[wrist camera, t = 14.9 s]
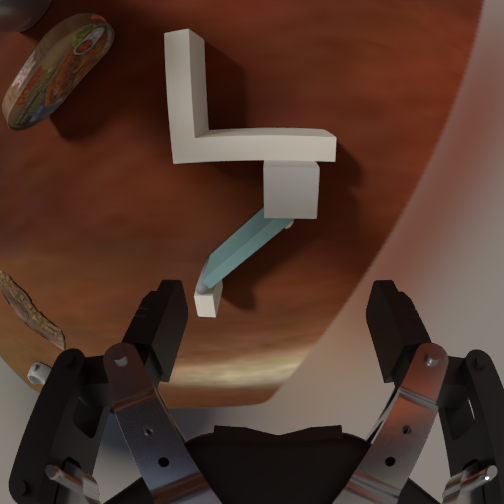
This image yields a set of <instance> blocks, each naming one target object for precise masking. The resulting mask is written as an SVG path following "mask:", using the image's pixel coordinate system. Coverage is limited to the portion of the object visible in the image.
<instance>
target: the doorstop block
mask: <svg viewBox="0 0 504 504" xmlns="http://www.w3.org/2000/svg"><path fill="white" fill-rule="evenodd" d="M319 171H320V168H319V166H318V165H317V163H316V161H298V160H264V166H263V172H264V218H297V219H317V205H318V190H319Z"/></svg>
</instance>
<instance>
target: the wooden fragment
mask: <svg viewBox="0 0 504 504" xmlns="http://www.w3.org/2000/svg"><path fill="white" fill-rule="evenodd" d="M0 290H1V292H2V293H3V295H4V297H5V298H6V300H7V301H8V303H9V304H10V306H11V307H12V308H13V310H14V311H15V312H16V313H17V314H18V317H19V318H20V319H21V320H22V321H23V322H24V323H25V324H26V325H27V326H28V327H30V328H31V329H33V330H34V331H36V332H37V333H38V334H40V335H41V336H43V337H44V338H46V339H47V340H49V341H51V342H52V343H54V344H55V345H57V346H58V347H59V348H61V349H62V350H65V344H66V343H65V341H64V335H62V330H61V329H59V328H57V327H56V326H54V325H53V324H52V323H51V322H50V321H48V320H47V319H46V318H45V316H43V315H42V313H41V312H39V311H38V310H37V309H36V308H35V306H33V305H32V303H31V300H30V299H29V298H28V296H27V295H26V294H25V293H24V291H22V290H21V289H20V288H19V287H18V286H17V285H16V284H15V283H14V282H13V281H12V279H11V277H10V276H9V275H8V274H6V273H4V272H3V271H1V270H0Z"/></svg>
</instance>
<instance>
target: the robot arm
mask: <svg viewBox="0 0 504 504" xmlns="http://www.w3.org/2000/svg"><path fill="white" fill-rule="evenodd" d="M51 2H52V0H0V32H23V31H26V30H28V29H30V28H31V27H32V26H34V25H35V24H36V23H37V22H38V21H39V20H40V19H41V18H42V16H43V15H44V14H45V12H46V11H47V9H48V8H49V6H50V4H51ZM138 308H139V309H137V311H136V313H135V317H133V319H132V321H131V323H130V325H129V328H128V330H127V332H126V334H125V336H124V338H123V340H122V342H121V343H118V344H115V345H113V346H111V347H110V348H109V349H108V350H107V351H106V352H105V354H104V355H102V356H94V357H85V356H84V354H83V353H82V352H81V351H80V350H78V349H74V348H73V349H68V350H65V351H63V352H62V353H61V354H60V355H59V356H58V357H57V359H56V361H55V363H54V365H53V367H52V369H51V371H50V373H49V375H48V377H47V379H46V382H45V384H44V386H43V388H42V390H41V393H40V395H39V397H38V399H37V402H36V404H35V406H34V409H33V412H32V414H31V416H30V419H29V421H28V424H27V426H26V429H25V432H24V435H23V438H22V440H21V443H20V446H19V449H18V452H17V455H16V458H15V462H14V465H13V468H12V471H11V475H10V479H9V491H10V494H11V496H12V498H13V499H14V500H15V502H17V503H18V504H101V503H100V500H99V495H100V493H99V489H98V484H97V482H96V480H95V479H94V478H93V477H92V474H93V469H94V466H95V461H96V457H97V454H98V449H99V446H100V442H101V438H102V435H103V431H104V428H105V424H106V421H107V417H108V414H109V411H110V407H111V406H114V411H115V414H116V417H117V419H118V422H119V425H120V427H121V430H122V432H123V435H124V437H125V440H126V442H127V445H128V447H129V449H130V451H131V454H132V456H133V458H134V460H135V463H136V465H137V467H138V469H139V471H140V473H141V475H142V477H140V478H139V479H138V480H136V481H135V482H134V483H132V484H131V485H130V486H128V487H127V488H125V489H124V490H122V491H121V492H120V493H118V494H117V495H115V496H114V497H112V498H111V499H109V500H108V501H106V502H105V503H103V504H440V503H439V502H438V501H437V500H435V499H434V498H433V497H432V496H431V495H429V494H428V493H427V492H426V491H424V490H423V489H422V488H421V487H420V486H418V485H417V484H416V483H415V482H414V481H412V480H411V479H410V478H409V476H410V473H411V472H412V470H413V468H414V466H415V464H416V462H417V460H418V458H419V455H420V453H421V451H422V449H423V446H424V444H425V442H426V439H427V437H428V435H429V433H430V430H431V428H432V425H433V423H434V420H435V417H436V415H437V412H439V417H440V421H441V425H442V430H443V434H444V440H445V445H446V450H447V456H448V462H449V469H450V475H451V478H450V479H449V481H448V482H447V484H446V487H445V490H444V492H443V494H442V497H443V502H442V504H504V389H503V386H502V383H501V381H500V378H499V376H498V373H497V371H496V369H495V366H494V364H493V362H492V360H491V358H490V356H489V355H488V354H486V353H485V352H484V351H481V350H472V351H470V352H469V353H468V354H467V356H466V357H465V358H459V357H452V356H448V355H447V353H446V351H445V350H444V349H443V348H442V347H441V346H439V345H437V344H435V343H432V342H431V340H430V337H429V335H428V333H427V331H426V329H425V327H424V325H423V323H422V320H421V319H420V317H419V314H418V312H417V310H415V306H414V304H413V302H412V300H411V299H410V298H409V297H408V296H407V295H406V294H405V293H404V292H398V290H397V288H396V286H395V284H394V282H393V281H392V280H376V281H374V283H373V286H372V290H371V294H370V297H369V301H368V305H367V309H366V320H367V324H368V328H369V331H370V334H371V337H372V341H373V344H374V347H375V351H376V354H377V357H378V361H379V365H380V369H381V372H382V376H383V380H384V383H389V382H394V385H395V388H394V390H393V391H392V393H391V396H390V397H389V399H388V401H387V403H386V405H385V407H384V409H383V410H382V412H381V414H380V416H379V418H378V419H377V421H376V423H375V425H374V426H373V428H372V429H371V431H370V432H369V434H368V435H367V437H366V438H365V440H364V439H362V438H360V437H357V436H355V435H352V434H348V433H342V427H341V425H337V426H324V427H310V428H307V429H303V430H299V431H296V432H291V433H287V434H283V435H274V434H269V433H265V432H261V431H257V430H253V429H249V428H246V427H230V426H217V425H215V426H214V433H208V434H204V435H200V436H197V437H195V438H193V439H191V440H189V441H186V440H185V438H184V436H183V435H182V433H181V432H180V430H179V428H178V427H177V425H176V423H175V421H174V420H173V418H172V416H171V414H170V412H169V410H168V409H167V407H166V405H165V403H164V401H163V399H162V397H161V395H160V393H159V391H158V389H157V388H158V385H159V382H160V381H162V382H169V380H170V376H171V373H172V369H173V366H174V363H175V359H176V356H177V353H178V349H179V346H180V343H181V340H182V336H183V333H184V330H185V327H186V324H187V320H188V307H187V303H186V298H185V294H184V290H183V285H182V282H181V281H180V280H162V281H161V283H160V285H159V287H158V289H157V291H151V292H150V293H149V294H148V295H146V296H145V297H144V298H143V300H142V302H141V304H140V306H139V307H138ZM469 399H470V402H471V406H472V409H473V413H474V418H473V414H472V411H471V407H470V404H469Z"/></svg>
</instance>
